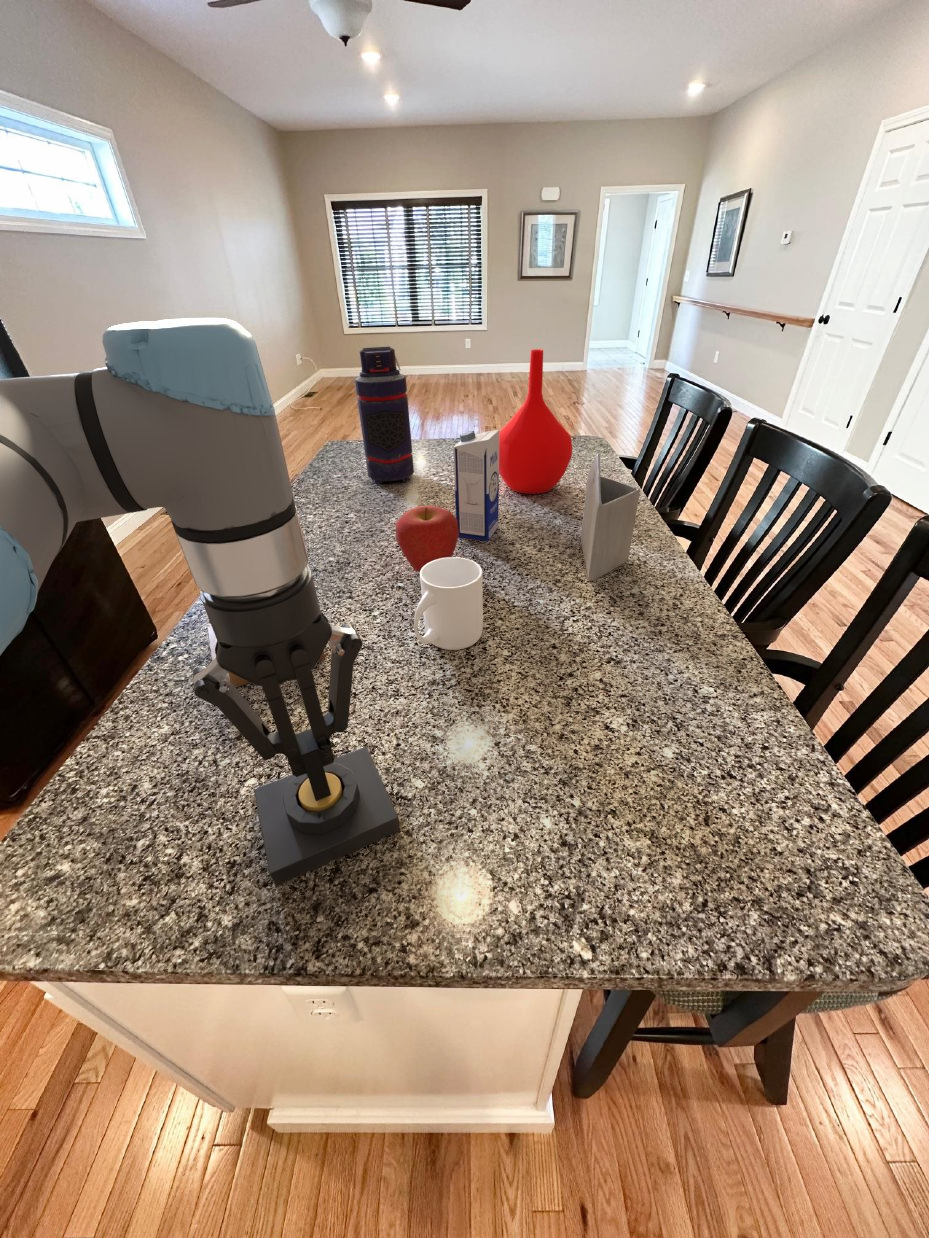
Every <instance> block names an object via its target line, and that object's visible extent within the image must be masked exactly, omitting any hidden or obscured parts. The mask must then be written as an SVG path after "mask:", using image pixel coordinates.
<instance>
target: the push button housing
mask: <svg viewBox="0 0 929 1238" xmlns="http://www.w3.org/2000/svg"><path fill="white" fill-rule="evenodd" d="M323 768H324V771H325V773H330V774H333V775H335V776H336V777H337V778H338V779H339V780H340V783H341V787H342V791H343V795H342V798H341V799H340V800H339V801H338V802H337V803H336V804H335V805H334V806H333V807H331V808H328V809H326V810H323V811H321V812H307V811H305V810H304V809H303V808H302V805H301V802H300V799H299V790H300V787H301V786H302V784H303V783H304V782H305V781H306V780H307V779H308V775H307V773H306V774H304V775H301V776H298V777H295V776H294V775H293V774H292V773H291V774H290V775H286V776H284V777H281V778H279V779H276V780H273V781H271V782H268V783H265V784H262V785H260V786H257V787H255V788H253V793H254V798H255V803H256V809H257V814H258V819H259V825H260V830H261V835H262V841H263V845H264V846H263V847H264V850H265V851H264V852H265V856H266V861H267V867H268V872H269V875H270V878H271V879H272V882H273V884H274V886H275V887H278V886H280V885H283V884H284V883H287V882H289V881H291V880H293V879H296V878H298V877H300V876H303V875H305V874H307V873H310V872H311V871H314V870H316V869H318V868H320V867H323V866H324V865H326V864H329V863H331V862H333V861H336V860H339V859H340V858H342V857H345V856H347V855H349V854H351V853H354V852H356V851H358V850H361V849H363V848H364V847H367V846H369V845H371V844H374V843H376V842H378V841H380V840H382V839H384V838H387V837H389V836H391V835H394V834H395V833H398V832H400V831H401V826H400V825H401V824H400V819H399V816H398V813H397V811H396V808H395V806H394V804H393V802H392V800H391V798H390V796H389V793H388V790H387V788H386V786H385V784H384V781H383V779H382V777H381V775H380V773H379V771H378V768H377V766H376V764H375V761H374V760H373V757H372V755H371V752H370V750H369V748H368V746H364V747H361V748H359V749H356V750H353V751H349V752H347V753H345V754H342V755H340V756H337V757H334V762H333V763H331V764H329V765H326V766H324V767H323Z"/></svg>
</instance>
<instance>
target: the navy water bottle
mask: <svg viewBox="0 0 929 1238" xmlns="http://www.w3.org/2000/svg"><path fill="white" fill-rule="evenodd" d="M359 357H360V365H361V371H360V372H359V376H357V377H355V378H354V386H355V394H356V395H357V398H356V400H357V408H358V415H359V422H360V429H361V437H362V443H363V450H364V456H365V464H366V471H367V476H368V477H369V478H370V479H371V480H373V481H374V484H376V485H383V482H395V481H396V482H397V481H401V480H402V481H403V483H407V482H409V481H410V480H411V477H412V475H413V474H414V473H415V466H414V457H413V454H412V453H413V445H412V433H411V422H410V410H409V399H408V398H409V397H408V394H407V392H408V387H407V377H406V375H405V374H402V373H401V366H400V364H399V361H398V359H397V356H396V352H395V348H393V347H391V346H376V347H375V346H373V347H362V349H361V350H360V351H359Z"/></svg>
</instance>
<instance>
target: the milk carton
mask: <svg viewBox="0 0 929 1238" xmlns="http://www.w3.org/2000/svg"><path fill="white" fill-rule="evenodd" d="M499 432H500V429H495V430H494V429H493V430H487V431H483V432H480V433H479V432H478V433H475V431H474V430H470V431H467V432H463V433H461V434H459V439H460V441H458V442H457V443H456V444H454V446H452V451H453V452H452V453H453V455H452V456H453V476H454V477H453V478H454V501H455V504H454V505H455V517H456V518H457V522H458V531H459V536H458V538H461V539H462V538H463V539H470V540H476V541H483V542H489V541H490V539H491V538H492V536H493V535H494V534H495V533H496V532H497V530H498V529H499V512H500V511H499V507H500V505H499V503H500V501H499V500H500V495H499V494H500V492H499V491H500V474H499Z"/></svg>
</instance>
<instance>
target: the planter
mask: <svg viewBox="0 0 929 1238" xmlns="http://www.w3.org/2000/svg"><path fill="white" fill-rule="evenodd" d="M640 495H641V488H639V487H637V486H634V485H632V484H628V483H626V482H623V481H619V480H616V479H613V478H611V477H607V476H605V475H602V474H601V455H600V453H599V452H598V453H596V455H595V457H594V459H593V461H592V463H591V465H590V468H589V470H588V472H587V479H586V487H585V495H584V505H583V511H582V512H583V514H582V523H581V531H580V539H579V540H580V544H581V549H582V554H583V559H584V565H585V570H586V575H587V580H588V582H593V581H595V580H597V579H599V578H601V577H603V576H604V575H606V574H608V573H610V572H612V571H614V570H615V569H617V568H619V567H620V566H622V565H623V564H625V563H626V562H627V561H629V557H630V552H631V546H632V540H633V535H634V529H635V524H636V518H637V511H638V507H639V506H638V505H639V501H640Z"/></svg>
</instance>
